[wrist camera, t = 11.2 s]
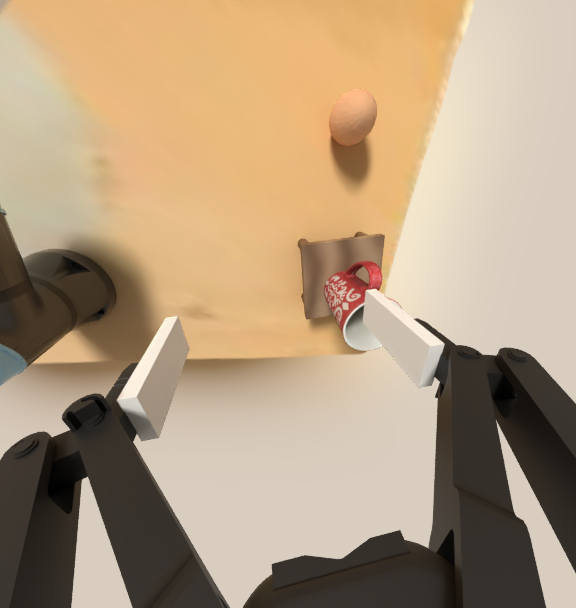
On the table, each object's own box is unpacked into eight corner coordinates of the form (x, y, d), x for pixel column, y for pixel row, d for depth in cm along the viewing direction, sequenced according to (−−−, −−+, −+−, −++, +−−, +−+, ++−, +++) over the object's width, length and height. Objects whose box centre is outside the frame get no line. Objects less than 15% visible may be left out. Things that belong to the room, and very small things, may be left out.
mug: (359, 309, 47) (395, 350, 35) (316, 310, 46) (338, 353, 34) (372, 247, 42) (420, 272, 30) (324, 246, 40) (353, 272, 28)
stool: (299, 302, 53) (306, 319, 47) (294, 237, 46) (301, 245, 40) (361, 293, 55) (376, 308, 48) (366, 228, 48) (384, 235, 41)
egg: (365, 104, 38) (395, 82, 30) (355, 151, 41) (381, 143, 33) (327, 96, 37) (348, 71, 29) (320, 145, 40) (337, 135, 32)
